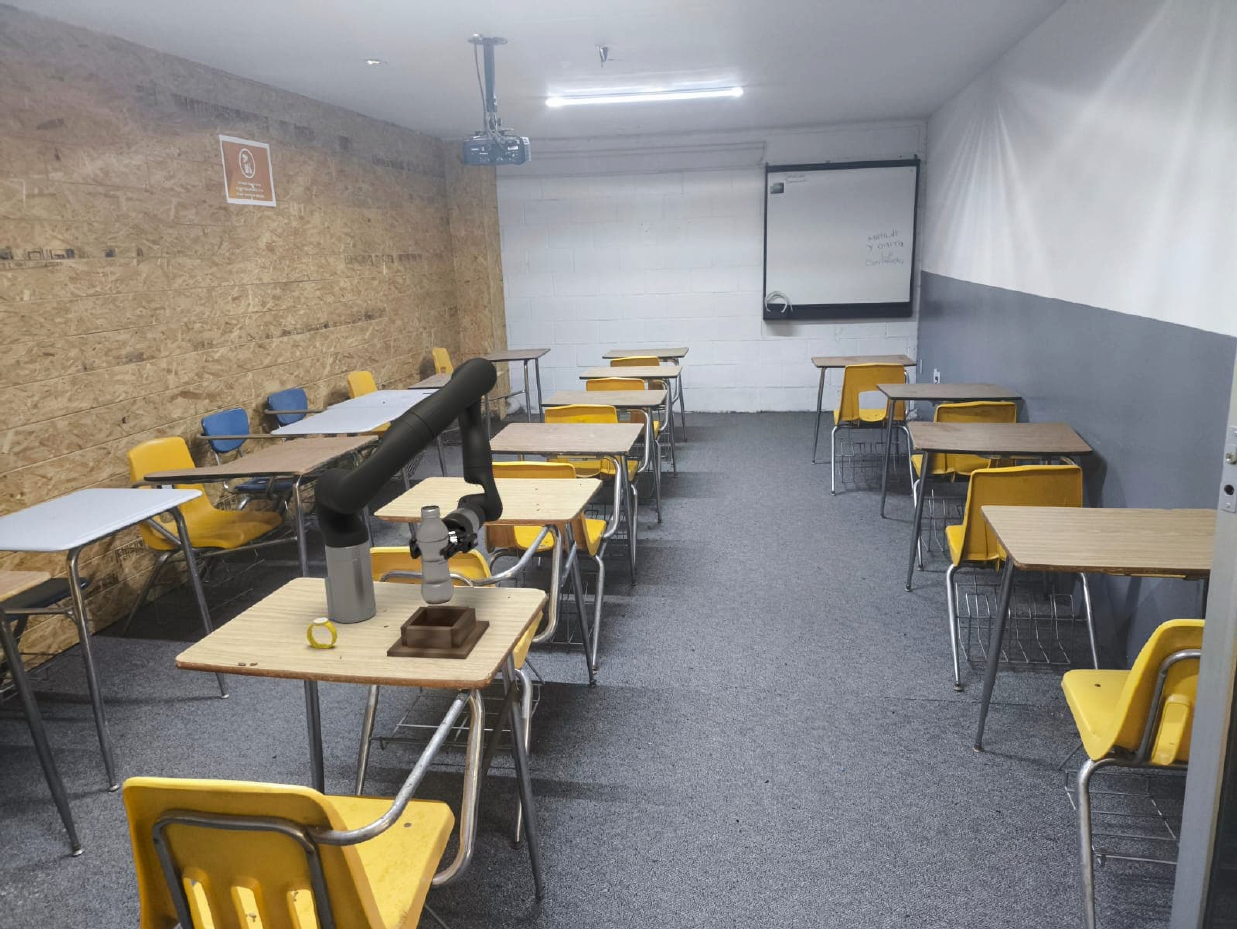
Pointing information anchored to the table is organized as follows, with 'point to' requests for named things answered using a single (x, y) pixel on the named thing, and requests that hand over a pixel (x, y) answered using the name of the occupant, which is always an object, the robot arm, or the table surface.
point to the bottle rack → (439, 633)
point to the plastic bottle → (434, 557)
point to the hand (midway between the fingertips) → (429, 554)
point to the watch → (320, 623)
